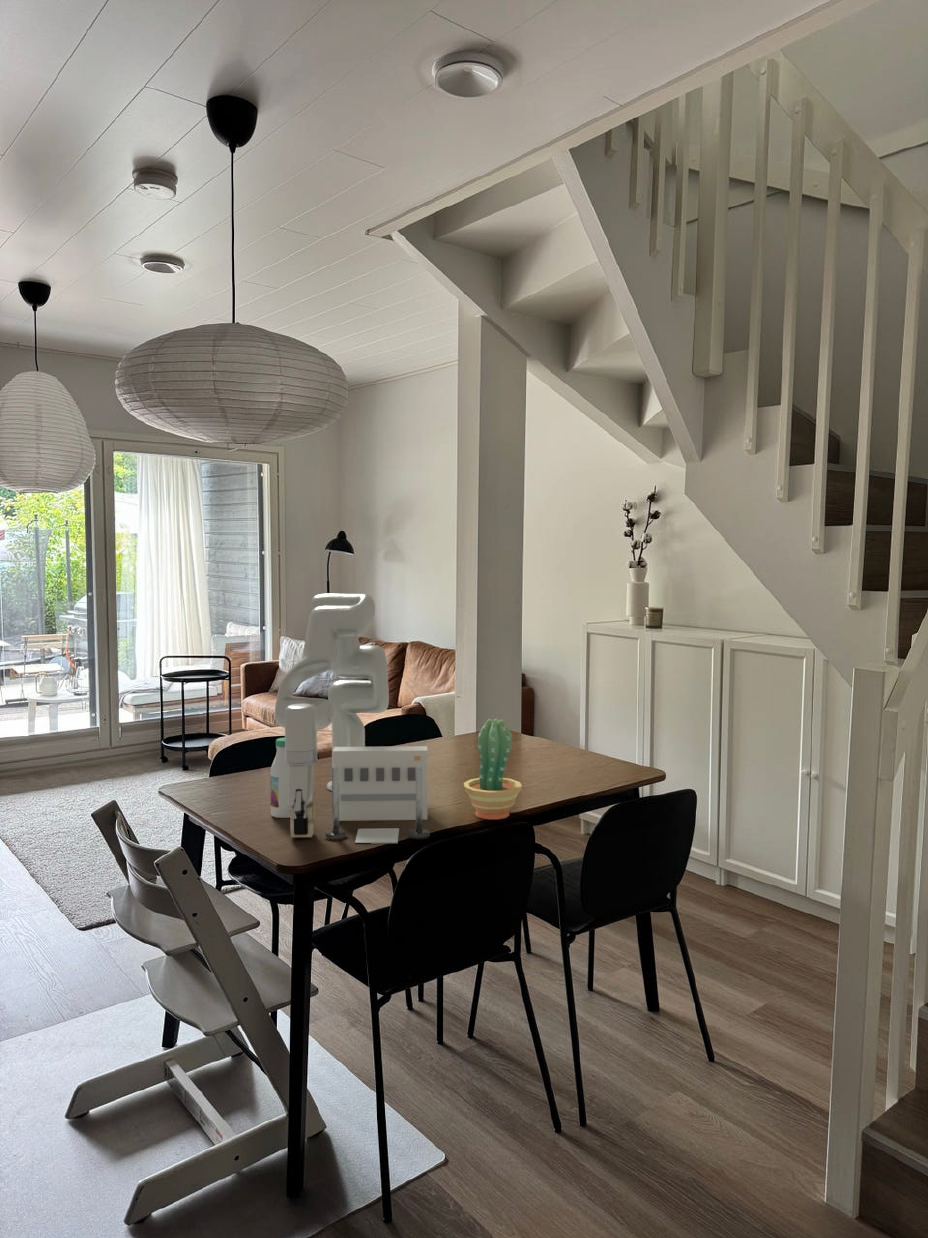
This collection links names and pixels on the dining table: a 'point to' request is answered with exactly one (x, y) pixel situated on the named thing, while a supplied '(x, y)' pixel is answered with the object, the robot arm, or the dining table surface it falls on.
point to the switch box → (380, 782)
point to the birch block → (308, 815)
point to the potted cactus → (493, 773)
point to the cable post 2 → (419, 809)
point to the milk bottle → (279, 783)
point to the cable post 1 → (335, 809)
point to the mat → (377, 835)
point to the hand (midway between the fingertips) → (302, 829)
